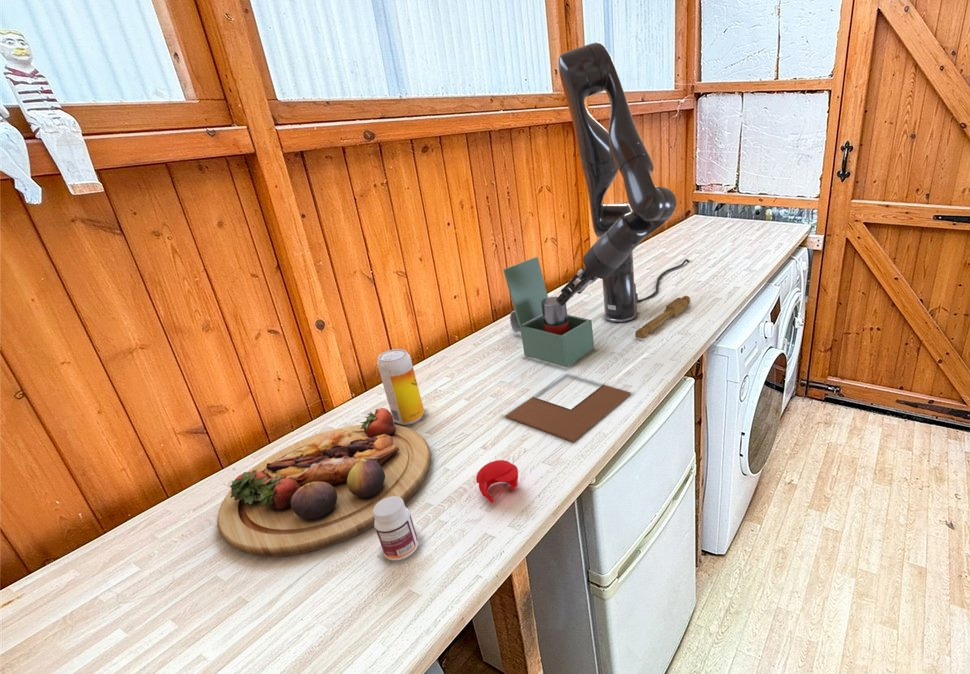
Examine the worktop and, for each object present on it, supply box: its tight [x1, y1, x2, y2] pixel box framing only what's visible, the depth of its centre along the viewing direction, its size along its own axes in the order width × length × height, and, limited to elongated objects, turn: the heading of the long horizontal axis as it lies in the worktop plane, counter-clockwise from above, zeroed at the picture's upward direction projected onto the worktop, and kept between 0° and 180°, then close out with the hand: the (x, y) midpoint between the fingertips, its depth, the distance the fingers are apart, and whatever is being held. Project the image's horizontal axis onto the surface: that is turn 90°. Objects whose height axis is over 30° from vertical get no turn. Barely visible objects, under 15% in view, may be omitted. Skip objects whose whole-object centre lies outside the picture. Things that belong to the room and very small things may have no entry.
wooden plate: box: [216, 407, 432, 557], centre depth 89 cm, size 32×32×8 cm
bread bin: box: [520, 314, 595, 368], centre depth 132 cm, size 14×12×9 cm
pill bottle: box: [373, 496, 419, 561], centre depth 75 cm, size 5×5×8 cm
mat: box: [505, 384, 631, 443], centre depth 111 cm, size 20×18×1 cm
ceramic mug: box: [509, 310, 543, 334], centre depth 147 cm, size 11×8×8 cm
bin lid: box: [502, 256, 549, 325], centre depth 132 cm, size 14×12×4 cm
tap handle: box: [634, 295, 691, 339], centre depth 151 cm, size 3×3×30 cm
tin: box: [541, 296, 569, 335], centre depth 131 cm, size 6×6×14 cm
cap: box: [475, 459, 519, 504], centre depth 86 cm, size 8×6×6 cm
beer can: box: [376, 348, 425, 426], centre depth 106 cm, size 6×6×15 cm
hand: (568, 296), depth 126 cm, fingers open, 8 cm apart
